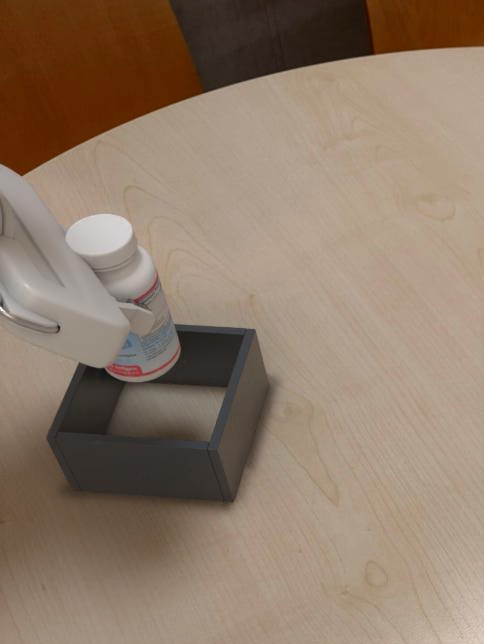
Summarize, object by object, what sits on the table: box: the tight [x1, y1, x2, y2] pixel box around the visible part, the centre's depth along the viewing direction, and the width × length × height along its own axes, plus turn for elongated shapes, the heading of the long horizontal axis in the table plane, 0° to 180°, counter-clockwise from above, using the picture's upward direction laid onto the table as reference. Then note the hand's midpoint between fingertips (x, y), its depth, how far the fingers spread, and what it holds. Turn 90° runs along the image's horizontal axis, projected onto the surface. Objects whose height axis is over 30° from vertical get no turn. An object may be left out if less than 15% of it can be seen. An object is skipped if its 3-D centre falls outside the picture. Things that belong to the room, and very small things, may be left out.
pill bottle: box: [65, 213, 180, 383], centre depth 78 cm, size 6×6×11 cm
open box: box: [45, 323, 270, 503], centre depth 88 cm, size 14×14×8 cm
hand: (127, 292), depth 78 cm, fingers closed on pill bottle, 6 cm apart
